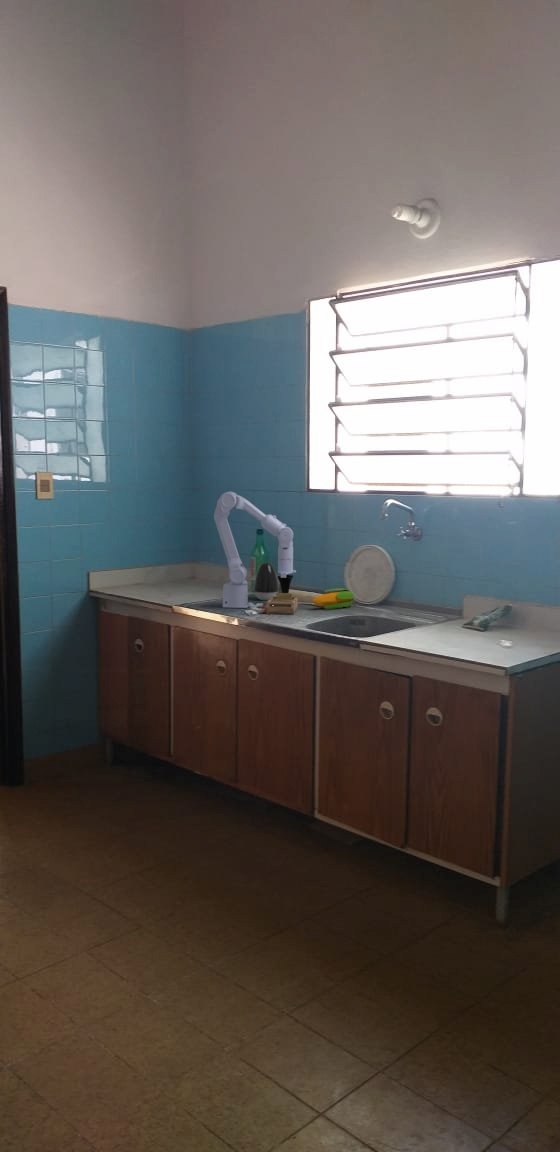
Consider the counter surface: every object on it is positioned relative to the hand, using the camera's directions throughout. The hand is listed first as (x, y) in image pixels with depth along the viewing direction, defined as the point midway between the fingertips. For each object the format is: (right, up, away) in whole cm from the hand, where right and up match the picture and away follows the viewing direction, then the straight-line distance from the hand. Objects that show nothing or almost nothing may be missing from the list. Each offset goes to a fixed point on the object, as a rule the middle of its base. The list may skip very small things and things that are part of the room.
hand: (285, 594), depth 351 cm
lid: (-1, -3, -9) cm, 10 cm away
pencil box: (-1, -6, -8) cm, 10 cm away
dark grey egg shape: (-8, -3, +21) cm, 23 cm away
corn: (+18, -6, 0) cm, 19 cm away
